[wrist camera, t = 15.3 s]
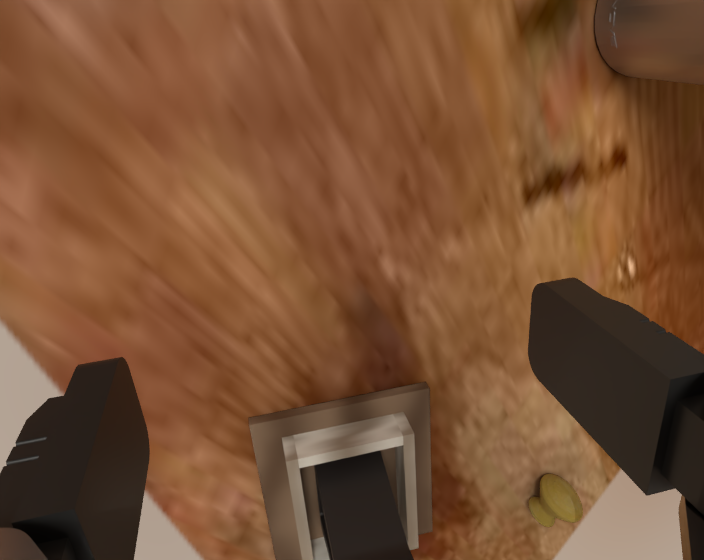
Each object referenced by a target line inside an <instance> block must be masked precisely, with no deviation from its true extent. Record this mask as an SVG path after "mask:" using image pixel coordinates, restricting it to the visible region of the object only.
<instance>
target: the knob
mask: <svg viewBox="0 0 704 560" xmlns="http://www.w3.org/2000/svg"><path fill="white" fill-rule="evenodd" d="M529 509H530V511H531V513H532V515H533V517H534V518H535V519H536V520H537V521H538V522H539V523H540V524H541V525H543V526H545V527H551V526H553V525H554V522H555V518H558V519H561V520H565V521H567V522H571V523H575V522H577V521H579V520H580V519H581V518H582V515H583V509H582V504H581V501H580V499H579V497H578V495H577V493H576V491H575V490H574V489H573V488H572V486H571V485H570V484H569V483H568V482H566V481H565V480H564V479H562V478H561V477H559V476H557V475H554V474H546V475H544V476H543V477H542V478H541V481H540V498H539V497H531V498H530V500H529Z"/></svg>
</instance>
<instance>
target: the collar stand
mask: <svg viewBox="0 0 704 560" xmlns="http://www.w3.org/2000/svg"><path fill="white" fill-rule="evenodd" d="M249 427H250V432H251V437H252V442H253V447H254V452H255V457H256V462H257V467H258V472H259V477H260V483H261V488H262V493H263V498H264V503H265V508H266V513H267V518H268V523H269V528H270V533H271V538H272V543H273V548H274V553H275V558H276V560H330V559H329V555H328V551H327V548H326V544H325V540H324V536H323V532H322V528H321V522H320V513H319V505H318V496H317V488H316V479H315V471H314V465H317V464H321V463H326V462H330V461H335V460H339V459H343V458H348V457H352V456H357V455H361V454H366V453H370V452H375V451H379V450H380V451H381V455H382V458H383V462H384V465H385V468H386V472H387V475H388V479H389V482H390V485H391V489H392V492H393V496H394V499H395V502H396V506H397V509H398V513H399V516H400V519H401V523H402V526H403V530H404V533H405V536H406V540H407V543H408V546H409V549H410V550H413V549H417V548H418V535H420V534H424V533H428V532H432V486H431V437H430V389H429V387H428V385H427V383H426V382H422V383H418V384H413V385H408V386H403V387H398V388H393V389H388V390H383V391H378V392H373V393H369V394H364V395H359V396H354V397H349V398H344V399H339V400H334V401H329V402H324V403H320V404H315V405H310V406H305V407H300V408H295V409H290V410H285V411H280V412H276V413H271V414H266V415H261V416H256V417H251V418H249Z"/></svg>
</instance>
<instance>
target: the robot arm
mask: <svg viewBox="0 0 704 560" xmlns="http://www.w3.org/2000/svg"><path fill="white" fill-rule="evenodd" d="M595 35H596V40H597V45H598V48H599V50H600V53H601V55H602V57H603V58H604V60H605V61H606V62H607V64H608V65H609V66H610V67H611V68H613V69H614V70H615V71H616V72H618V73H620V74H623V75H625V76H629V77H636V78H645V79H654V80H663V81H670V82H680V83H690V84H699V85H704V0H598V3H597V8H596V14H595ZM528 356H529V361H530V365H531V368H532V370H533V372H534V374H535V376H536V377H537V379H538V380H539V381H540V382H541V383H542V384H543V385H544V386H545V387H546V389H547V390H548V391H549V392H550V393H551V394H552V395H553V396H554V397H555V398H556V399H557V400H558V401H559V402H560V404H561V405H562V406H563V407H564V408H565V409H566V410H567V411H568V412H569V413H570V414H571V415H572V416H573V417H574V418H575V420H576V421H577V422H578V423H579V424H580V425H581V426H582V427H583V428H584V429H585V430H586V431H587V432H588V433H589V435H590V436H591V437H592V438H593V439H594V440H595V441H596V442H597V443H598V444H599V445H600V446H601V447H602V448H603V450H604V451H605V452H606V453H607V454H608V455H609V456H610V457H611V458H612V459H613V460H614V461H615V462H616V463H617V464H618V466H619V467H620V468H621V469H622V470H623V471H624V472H625V473H626V474H627V475H628V476H629V477H630V478H631V479H632V481H634V483H635V484H636V485H637V486H638V487H639V488H640V489H641V490H642V491H643V492H644V493H645V494H646V495H651V494H655V493H659V492H663V491H667V490H671V489H674V488H676V489H677V490H678V491H679V492H680V493H681V494H682V497H681V501H680V505H679V521H680V532H681V541H682V542H681V543H682V553H683V560H704V354H702V353H701V352H699V351H698V350H696V349H694V348H693V347H691V346H690V345H688V344H687V343H685V342H684V341H682V340H681V339H679V338H678V337H676V336H675V335H673V334H672V333H670V332H668V333H666V331H665V329H664V328H662V327H661V326H659V325H658V324H656V323H655V322H653V321H651V322H650V321H649V318H647V317H646V316H644V315H643V314H641V313H640V312H638V311H637V310H635V309H633V308H632V307H630V306H629V305H626V304H623V303H621V302H618V301H615V300H612V299H610V298H607V297H604V296H602V295H601V294H599V293H598V292H596V291H595V290H593V289H592V288H590V287H589V286H587V285H586V284H584V283H583V282H581V281H580V280H578V279H576V278H567V279H562V280H556V281H550V282H545V283H540V284H537V285H536V286H535V288H534V290H533V293H532V301H531V315H530V330H529V344H528ZM6 463H7V466H4V467H3V469H2V471H1V473H0V560H134V554H135V547H136V541H137V535H138V528H139V522H140V516H141V509H142V503H143V496H144V490H145V483H146V477H147V471H148V464H149V438H148V431H147V427H146V423H145V420H144V416H143V413H142V410H141V406H140V403H139V400H138V396H137V393H136V390H135V386H134V383H133V380H132V376H131V373H130V370H129V367H128V364H127V362H126V360H125V359H124V358H123V357H119V358H114V359H108V360H103V361H97V362H91V363H86V364H80V365H78V366H77V367H76V369H75V371H74V373H73V376H72V378H71V380H70V383H69V385H68V388H67V390H66V392H65V395H64V396H60V397H54V398H49V399H48V400H47V401H46V402H45V403H44V404H43V405H42V406H41V407H40V408H38V409H37V410H36V412H34V413H33V414H32V415H31V416H30V417H29V418H28V419H27V420H26V422H25V424H24V426H23V428H22V430H21V433H20V434H19V437H18V439H17V441H16V447H13V449H12V451H11V453H10V455H9V457H8V459H7V461H6Z"/></svg>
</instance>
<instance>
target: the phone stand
mask: <svg viewBox="0 0 704 560" xmlns="http://www.w3.org/2000/svg"><path fill="white" fill-rule="evenodd" d="M314 471H315V479H316V488H317V496H318V505H319V513H320V522H321V528H322V532H323V536H324V540H325V544H326V548H327V551H328V555H329V559H330V560H414V559H413V557H412V554H411V552H410V549H409V546H408V543H407V540H406V536H405V533H404V530H403V526H402V523H401V519H400V516H399V513H398V509H397V506H396V502H395V499H394V496H393V492H392V489H391V485H390V482H389V479H388V475H387V472H386V468H385V465H384V462H383V458H382V455H381V451H380V450H379V451H375V452H370V453H366V454H361V455H357V456H352V457H348V458H343V459H339V460H335V461H330V462H326V463H321V464H317V465H314Z"/></svg>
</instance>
